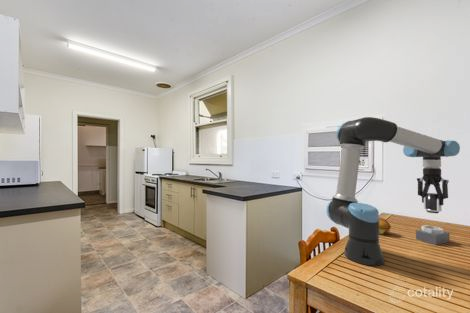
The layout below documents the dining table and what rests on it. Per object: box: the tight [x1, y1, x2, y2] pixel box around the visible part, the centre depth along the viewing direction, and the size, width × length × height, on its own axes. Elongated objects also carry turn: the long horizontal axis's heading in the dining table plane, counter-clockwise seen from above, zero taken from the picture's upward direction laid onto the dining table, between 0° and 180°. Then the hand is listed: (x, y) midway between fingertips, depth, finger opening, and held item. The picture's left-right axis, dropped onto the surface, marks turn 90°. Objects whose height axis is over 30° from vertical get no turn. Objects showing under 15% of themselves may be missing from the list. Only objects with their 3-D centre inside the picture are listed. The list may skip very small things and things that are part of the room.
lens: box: [425, 192, 440, 214], centre depth 121 cm, size 5×5×10 cm
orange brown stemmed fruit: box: [379, 217, 392, 235], centre depth 133 cm, size 10×11×10 cm
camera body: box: [415, 224, 451, 246], centre depth 120 cm, size 13×9×7 cm
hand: (432, 209), depth 121 cm, fingers closed on lens, 5 cm apart
